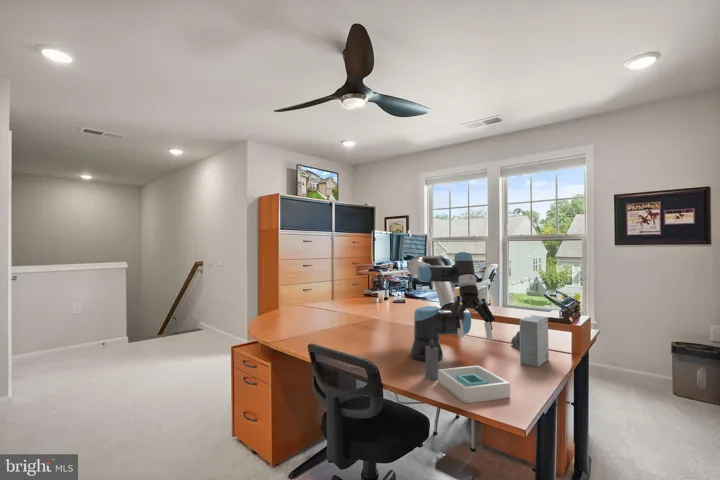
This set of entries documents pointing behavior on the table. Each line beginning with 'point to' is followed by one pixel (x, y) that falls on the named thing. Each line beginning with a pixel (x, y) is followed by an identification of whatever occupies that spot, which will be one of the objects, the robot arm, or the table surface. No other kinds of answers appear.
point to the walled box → (473, 384)
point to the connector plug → (431, 361)
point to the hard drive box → (534, 340)
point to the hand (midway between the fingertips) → (475, 338)
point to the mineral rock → (516, 340)
